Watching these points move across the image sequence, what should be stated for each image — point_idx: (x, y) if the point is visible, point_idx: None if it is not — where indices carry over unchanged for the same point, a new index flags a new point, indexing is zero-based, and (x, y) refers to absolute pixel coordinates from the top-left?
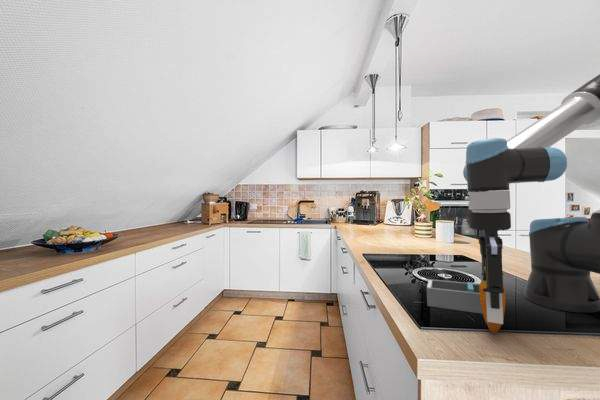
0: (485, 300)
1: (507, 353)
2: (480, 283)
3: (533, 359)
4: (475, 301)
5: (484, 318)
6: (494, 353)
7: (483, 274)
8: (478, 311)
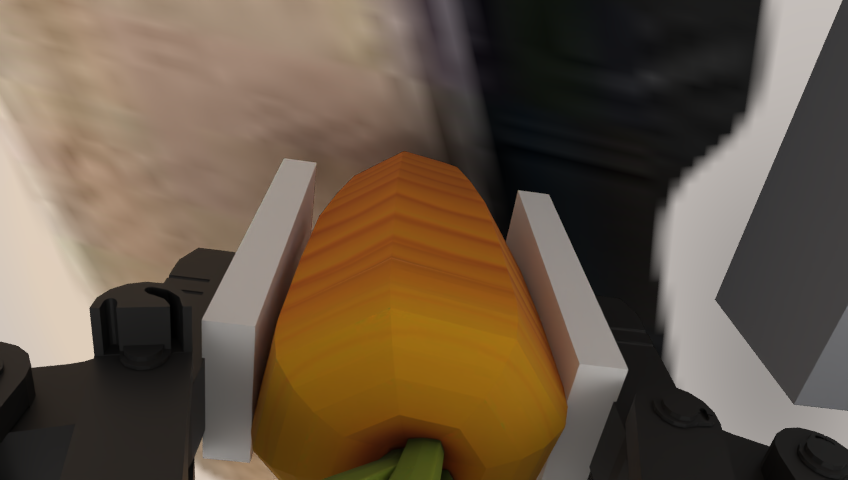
0: (315, 244)
1: (146, 174)
2: (444, 329)
3: (139, 281)
4: (845, 175)
5: (398, 154)
6: (106, 97)
7: (667, 475)
8: (783, 160)
